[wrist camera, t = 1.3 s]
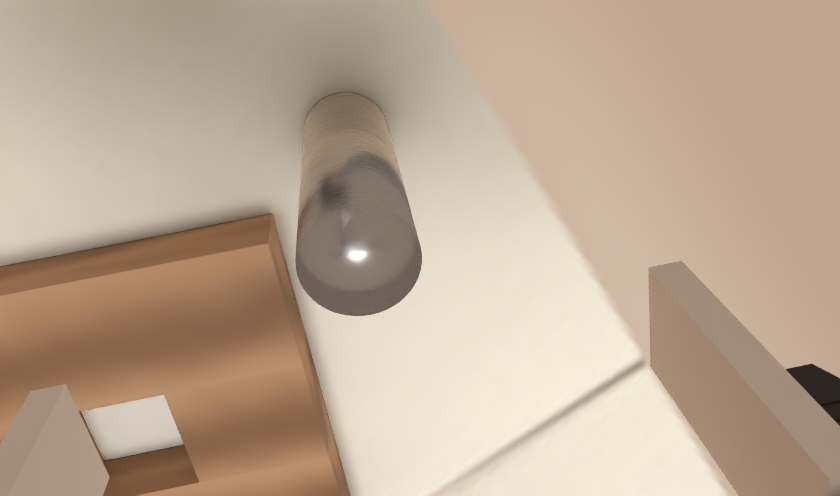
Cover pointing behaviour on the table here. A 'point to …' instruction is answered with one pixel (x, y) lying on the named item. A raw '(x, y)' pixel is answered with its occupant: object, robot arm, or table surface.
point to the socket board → (179, 358)
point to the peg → (353, 211)
